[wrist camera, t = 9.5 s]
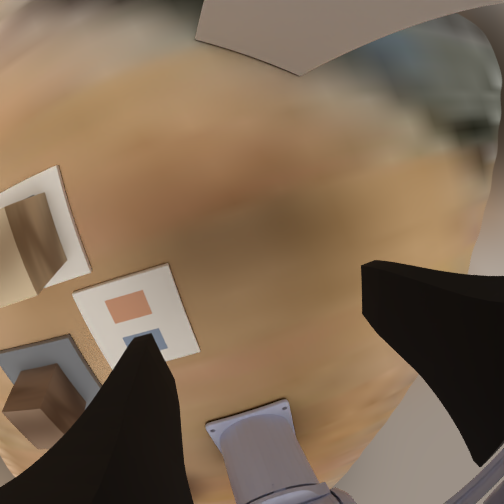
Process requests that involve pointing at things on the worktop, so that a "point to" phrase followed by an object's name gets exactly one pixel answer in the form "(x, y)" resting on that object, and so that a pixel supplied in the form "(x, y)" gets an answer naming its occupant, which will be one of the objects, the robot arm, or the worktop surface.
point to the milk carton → (313, 26)
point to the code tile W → (137, 314)
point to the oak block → (27, 249)
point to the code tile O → (54, 219)
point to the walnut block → (43, 405)
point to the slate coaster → (51, 353)
